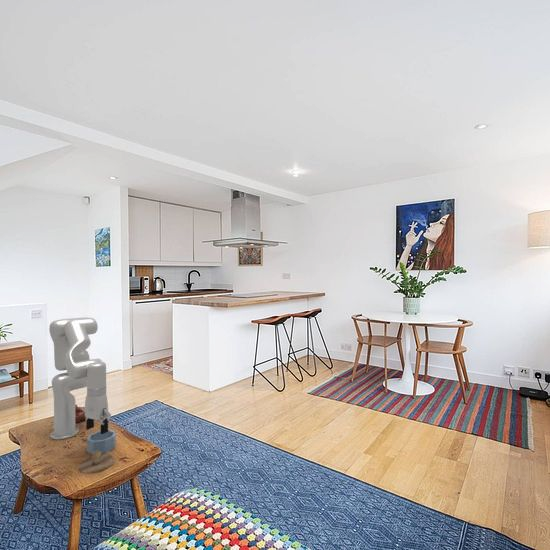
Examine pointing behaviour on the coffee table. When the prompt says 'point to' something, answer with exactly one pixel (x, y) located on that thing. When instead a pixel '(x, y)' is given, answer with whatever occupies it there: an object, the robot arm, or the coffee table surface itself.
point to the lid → (96, 463)
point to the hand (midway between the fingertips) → (97, 430)
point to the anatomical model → (79, 413)
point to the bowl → (101, 442)
